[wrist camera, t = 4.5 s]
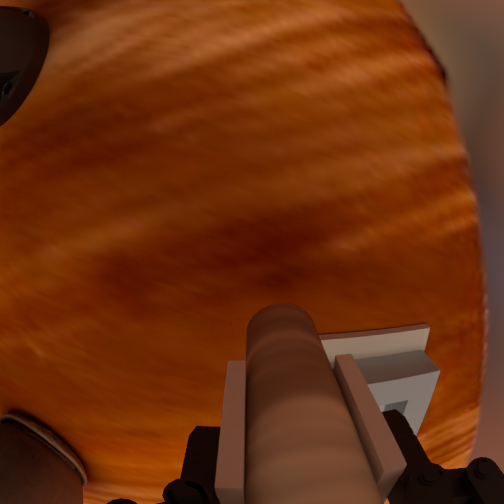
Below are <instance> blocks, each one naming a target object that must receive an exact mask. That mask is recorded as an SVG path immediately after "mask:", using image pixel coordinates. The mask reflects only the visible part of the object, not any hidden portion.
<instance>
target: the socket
mask: <svg viewBox="0 0 504 504" xmlns="http://www.w3.org/2000/svg"><path fill="white" fill-rule="evenodd" d="M429 329H430V328H429V327H428V326H427V325H426V324H419V325H412V326H405V327H397V328H389V329H380V330H371V331H361V332H350V333H338V334H325V335H319V337H320V340H321V342H322V345H323V347H324V349H325V352H326V354H327V357H328V359H329V362H330V364H331V367H332V369H333V368H334V360H335V355H344V354H352V356H353V358H354V360H355V362H356V364H357V366H358V368H359V369H360V371H361V373H362V375H363V377H364V379H365V381H366V383H367V385H368V387H369V389H370V391H371V392H372V394H373V396H374V398H375V400H376V402H377V404H378V406H379V408H380V410H381V412H384V411H389V410H393V409H396V410H397V411H399V412H400V413H401V414H402V415H404V416H405V418H406V419H407V421H408V423H409V425H410V427H411V428H412V430H413V432H414V435H417V432H418V430H419V428H420V425H421V423H422V421H423V418H424V416H425V413H426V410H427V408H428V405H429V403H430V400H431V397H432V394H433V391H434V389H435V386H436V383H437V380H438V376H439V373H440V369H439V368H438V367H437V366H436V365H435V364H434V362H433V361H432V360H431V359H430V358H429V357H428V356H427V355H426V354H425V353H424V351H425V347H426V343H427V338H428V334H429Z"/></svg>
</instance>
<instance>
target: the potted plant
mask: <svg viewBox="0 0 504 504" xmlns="http://www.w3.org/2000/svg"><path fill="white" fill-rule="evenodd" d="M86 484H87V475H86V471H85V469H84V467H83V465H82V463H81V462H80V460H79V459H78V457H77V456H76V455H75V454H74V453H73V452H72V450H71V449H70V448H69V447H68V446H67V445H66V444H65V443H64V442H62V441H61V440H60V439H59V438H58V437H57V436H55V435H54V434H53V433H52V432H51V431H50V430H48V429H47V428H45V427H44V426H42V425H41V424H39V423H37V422H35V421H34V420H32V419H30V418H28V417H26V416H24V415H21V414H17V413H4V414H3V415H2V416H1V417H0V504H83V491H82V486H85V485H86Z"/></svg>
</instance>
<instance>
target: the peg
mask: <svg viewBox="0 0 504 504" xmlns="http://www.w3.org/2000/svg"><path fill="white" fill-rule="evenodd" d="M244 504H383V501H382V498H381V495H380V492H379V490H378V487H377V484H376V481H375V479H374V476H373V473H372V470H371V468H370V465H369V462H368V459H367V457H366V454H365V451H364V449H363V446H362V443H361V441H360V438H359V435H358V433H357V430H356V428H355V425H354V422H353V420H352V417H351V415H350V412H349V409H348V407H347V404H346V402H345V399H344V397H343V394H342V392H341V389H340V387H339V384H338V382H337V379H336V377H335V374H334V372H333V369H332V367H331V364H330V362H329V359H328V357H327V354H326V352H325V349H324V347H323V345H322V342H321V340H320V337H319V335H318V332H317V330H316V328H315V325H314V323H313V321H312V319H311V317H310V315H309V314H308V313H307V312H306V311H305V310H303V309H302V308H300V307H298V306H296V305H293V304H288V303H278V304H273V305H270V306H267V307H265V308H263V309H261V310H260V311H259V312H257V313H256V314H255V315H254V316H253V318H252V319H251V321H250V323H249V325H248V328H247V341H246V433H245V503H244Z"/></svg>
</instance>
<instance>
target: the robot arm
mask: <svg viewBox="0 0 504 504" xmlns="http://www.w3.org/2000/svg"><path fill="white" fill-rule="evenodd" d="M48 41H49V28H48V24H47V22H46V20H45V19H44V18H43V17H42V16H41V15H39V14H38V13H36V12H35V11H33V10H31V9H28V8H19V7H10V6H0V125H1V124H3V123H4V122H5V121H6V120H7V119H8V118H9V117H10V116H11V115H12V114H13V113H14V112H15V111H16V109H17V108H18V107H19V106H20V104H21V103H22V102H23V100H24V99H25V97H26V96H27V94H28V92H29V91H30V89H31V87H32V85H33V84H34V82H35V80H36V78H37V76H38V73H39V71H40V69H41V66H42V64H43V61H44V58H45V55H46V51H47V47H48ZM333 372H334V374H335V377H336V379H337V382H338V384H339V387H340V389H341V392H342V394H343V397H344V399H345V402H346V404H347V407H348V409H349V412H350V415H351V417H352V420H353V422H354V425H355V428H356V430H357V433H358V435H359V438H360V441H361V443H362V446H363V449H364V451H365V454H366V457H367V459H368V462H369V465H370V468H371V470H372V473H373V476H374V479H375V481H376V484H377V487H378V490H379V492H380V495H381V498H382V501H383V504H384V502H385V501H386V499H387V498H388V500H389V503H390V504H504V474H503V473H502V471H501V470H500V469H499V467H498V466H497V465H496V463H495V462H494V461H492V460H491V459H489V458H486V457H485V458H484V457H480V458H476V459H474V460H473V461H472V462H470V464H469V465H468V466H467V467H466V468H458V469H444V468H442V467H441V466H440V465H438V464H435V463H431V462H430V460H429V459H428V457H427V455H426V453H425V451H424V450H423V448H422V446H421V444H420V442H419V441H418V439H417V437H416V435H414V432H413V430H412V428H411V427H410V425H409V423H408V421H407V419H406V418H405V416H404V415H402V414H401V413H400V412H399V411H397V410H396V409H393V410H389V411H384V412H381V410H380V408H379V406H378V404H377V402H376V400H375V398H374V396H373V394H372V392H371V391H370V389H369V387H368V385H367V383H366V381H365V379H364V377H363V375H362V373H361V371H360V369H359V368H358V366H357V364H356V362H355V360H354V358H353V356H352V354H344V355H335V360H334V368H333ZM245 433H246V361H228V365H227V374H226V383H225V392H224V401H223V410H222V420H221V427H209V426H196V428H195V429H194V430H193V431H192V433H191V434H190V435H189V439H188V444H187V448H186V453H185V458H184V463H183V468H182V472H181V477H180V479H176V480H174V481H172V482H170V483H169V484H168V485H167V486H166V487H165V489H164V491H163V498H164V500H165V502H162V503H157V504H244V503H245ZM107 504H137V503H136V502H134V501H131V500H129V499H122V498H120V499H115V500H112V501H110V502H109V503H107Z"/></svg>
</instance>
